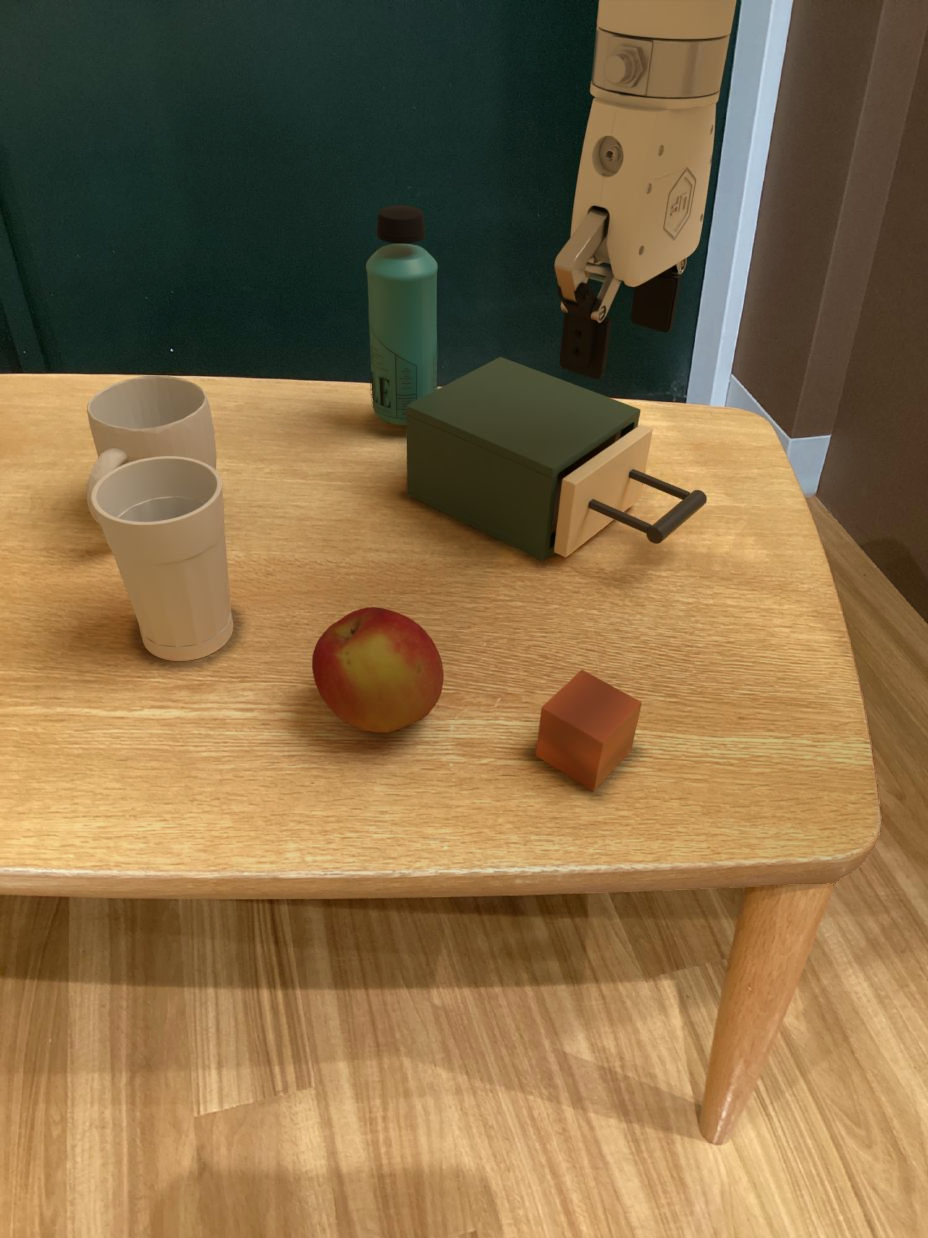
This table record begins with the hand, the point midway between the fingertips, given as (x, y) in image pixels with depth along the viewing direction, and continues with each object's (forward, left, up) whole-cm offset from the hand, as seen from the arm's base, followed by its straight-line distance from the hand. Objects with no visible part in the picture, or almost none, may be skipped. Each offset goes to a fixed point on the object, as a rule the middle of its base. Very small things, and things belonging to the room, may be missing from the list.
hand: (617, 348), depth 64 cm
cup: (+16, +28, -17) cm, 36 cm away
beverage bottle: (+25, -5, -17) cm, 31 cm away
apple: (0, +25, -17) cm, 30 cm away
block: (-12, +19, -17) cm, 28 cm away
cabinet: (+9, -2, -17) cm, 19 cm away
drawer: (+3, -2, -16) cm, 17 cm away
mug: (+29, +21, -17) cm, 40 cm away
